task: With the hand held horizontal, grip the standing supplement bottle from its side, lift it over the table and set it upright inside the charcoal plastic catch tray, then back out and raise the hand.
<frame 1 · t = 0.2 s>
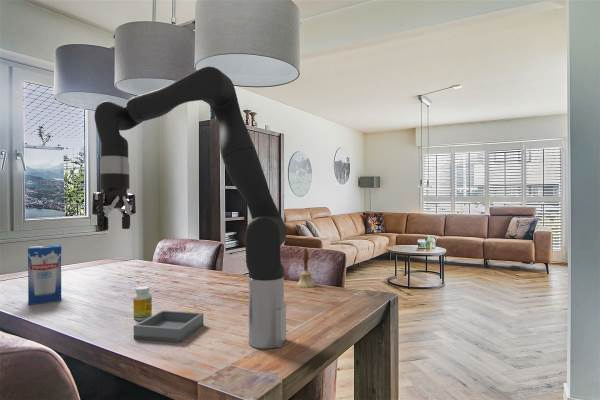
hand: (115, 229, 104), 29 cm above the table, tool pointing down, fingers open, 8 cm apart
supplement bottle: (142, 318, 115), on the table
milk carton: (45, 301, 135), on the table
catch tray: (170, 331, 104), on the table
hand bell: (305, 285, 158), on the table
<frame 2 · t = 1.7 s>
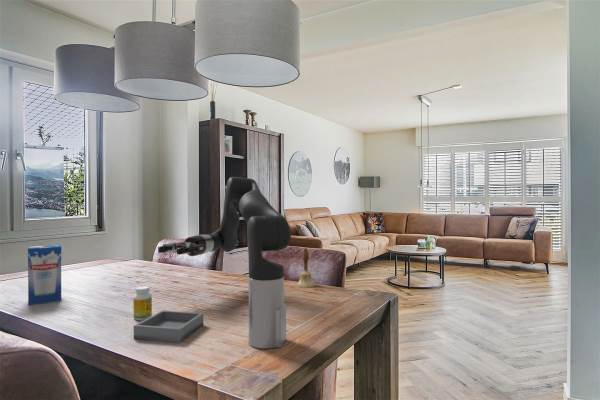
hand: (168, 250, 125), 20 cm above the table, tool horizontal, fingers open, 8 cm apart
nothing on the table moved.
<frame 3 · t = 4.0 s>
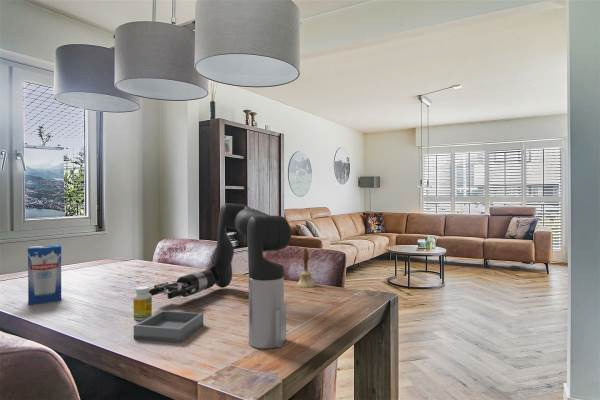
hand: (158, 294, 121), 6 cm above the table, tool horizontal, fingers open, 8 cm apart
nothing on the table moved.
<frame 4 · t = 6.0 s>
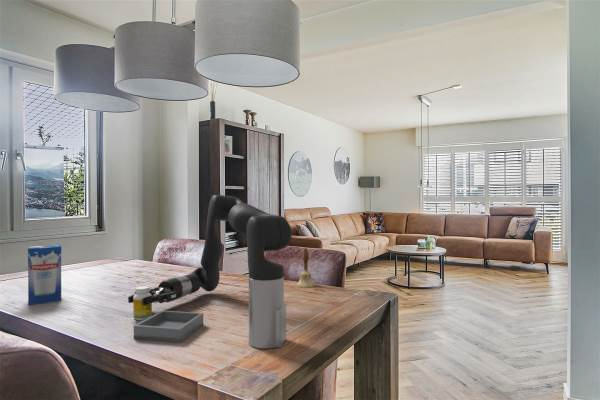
hand: (136, 300, 113), 6 cm above the table, tool horizontal, fingers closed on supplement bottle, 5 cm apart
supplement bottle: (142, 318, 115), on the table, touching gripper
everything else where it was.
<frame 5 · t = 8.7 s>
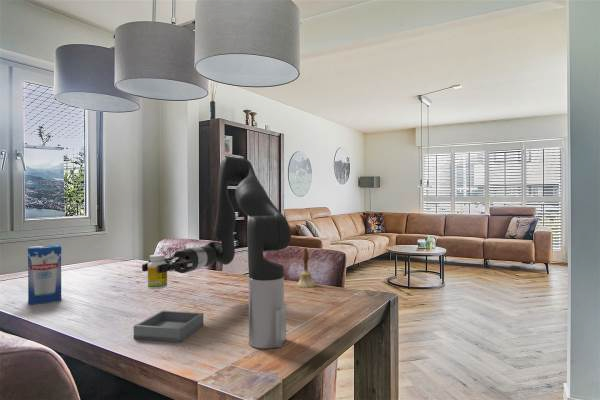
hand: (150, 268, 106), 17 cm above the table, tool horizontal, fingers closed on supplement bottle, 5 cm apart
supplement bottle: (157, 288, 108), point 11 cm above the table, touching gripper
everything else where it was.
when the fingers open (9 cm above the table, at t = 11.4 s): supplement bottle drops 2 cm, resting on catch tray.
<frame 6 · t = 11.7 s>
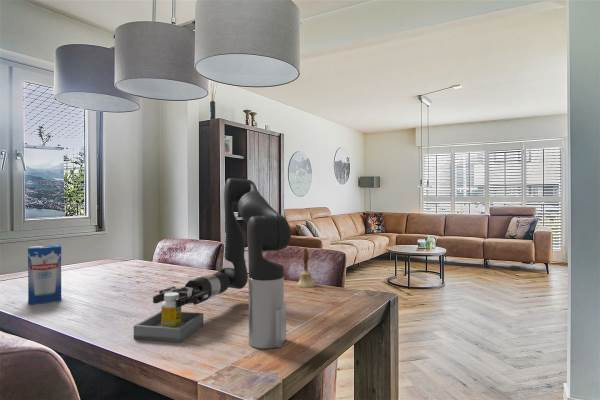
hand: (165, 301, 102), 9 cm above the table, tool horizontal, fingers open, 8 cm apart
supplement bottle: (171, 328, 104), point 1 cm above the table, touching catch tray
everything else where it was.
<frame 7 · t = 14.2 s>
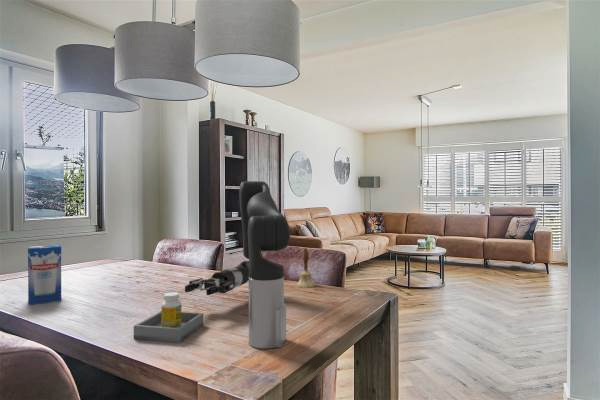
hand: (196, 290, 114), 9 cm above the table, tool horizontal, fingers open, 8 cm apart
nothing on the table moved.
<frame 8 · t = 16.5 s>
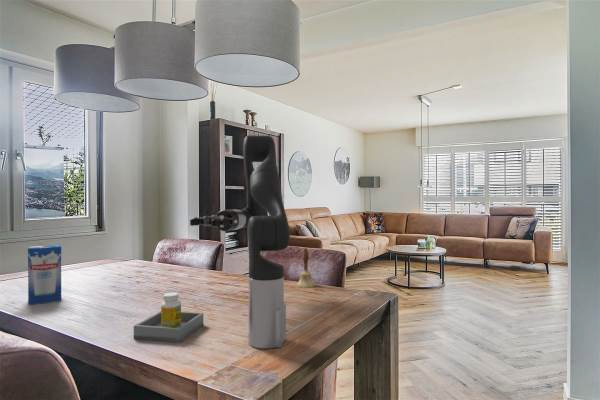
hand: (201, 222, 117), 30 cm above the table, tool horizontal, fingers open, 8 cm apart
nothing on the table moved.
at the end: supplement bottle inside the target area on the catch tray (0.3 cm from its centre), point 0.8 cm above the catch tray's base; supplement bottle tilted 0°; the gripper is holding nothing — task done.
